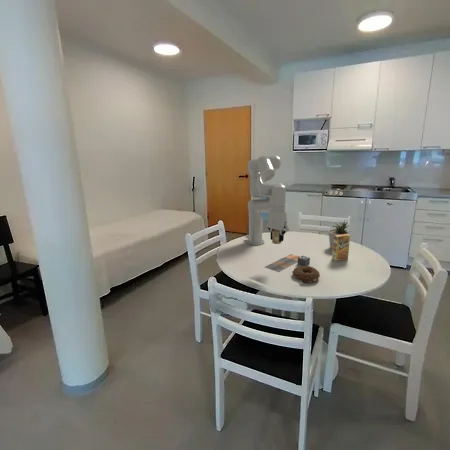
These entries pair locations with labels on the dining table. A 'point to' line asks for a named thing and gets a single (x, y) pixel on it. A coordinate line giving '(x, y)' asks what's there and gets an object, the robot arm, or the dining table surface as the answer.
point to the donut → (306, 274)
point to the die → (303, 261)
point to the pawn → (275, 236)
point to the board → (283, 263)
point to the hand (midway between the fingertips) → (276, 240)
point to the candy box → (340, 247)
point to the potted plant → (337, 232)
